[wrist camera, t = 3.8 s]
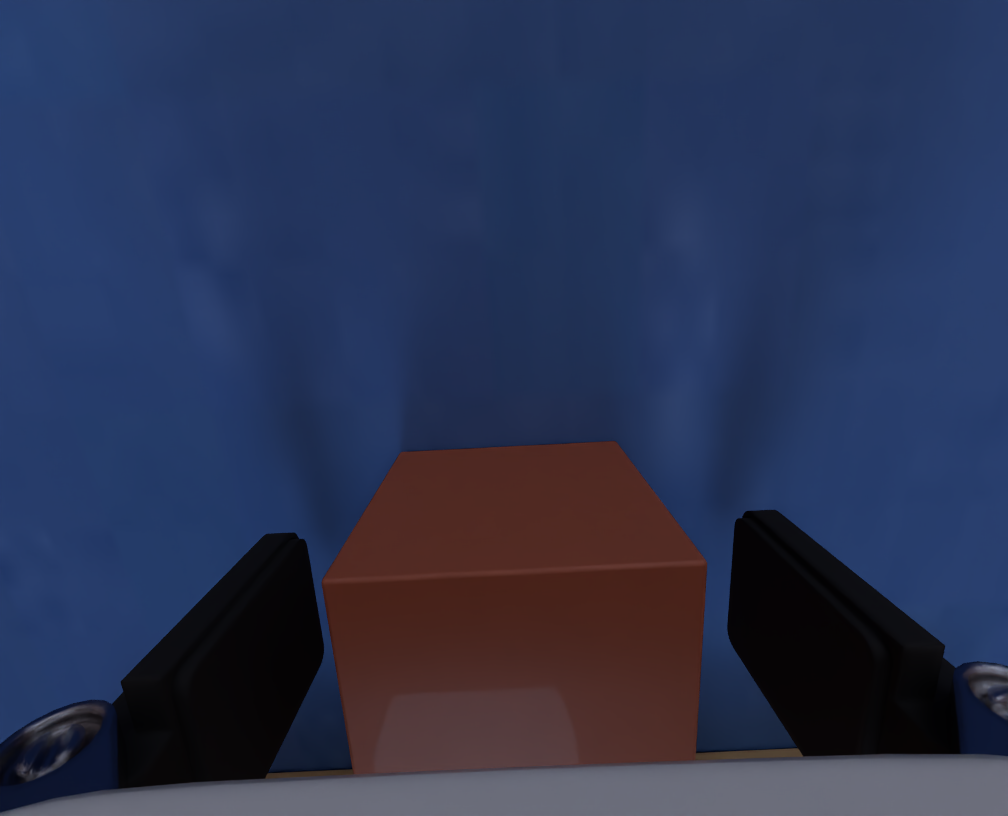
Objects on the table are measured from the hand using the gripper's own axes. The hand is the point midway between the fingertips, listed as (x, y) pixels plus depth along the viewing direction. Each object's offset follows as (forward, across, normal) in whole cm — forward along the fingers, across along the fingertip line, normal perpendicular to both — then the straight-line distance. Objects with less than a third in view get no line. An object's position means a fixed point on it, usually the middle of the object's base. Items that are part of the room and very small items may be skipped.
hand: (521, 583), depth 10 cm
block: (+1, 0, 0) cm, 1 cm away
